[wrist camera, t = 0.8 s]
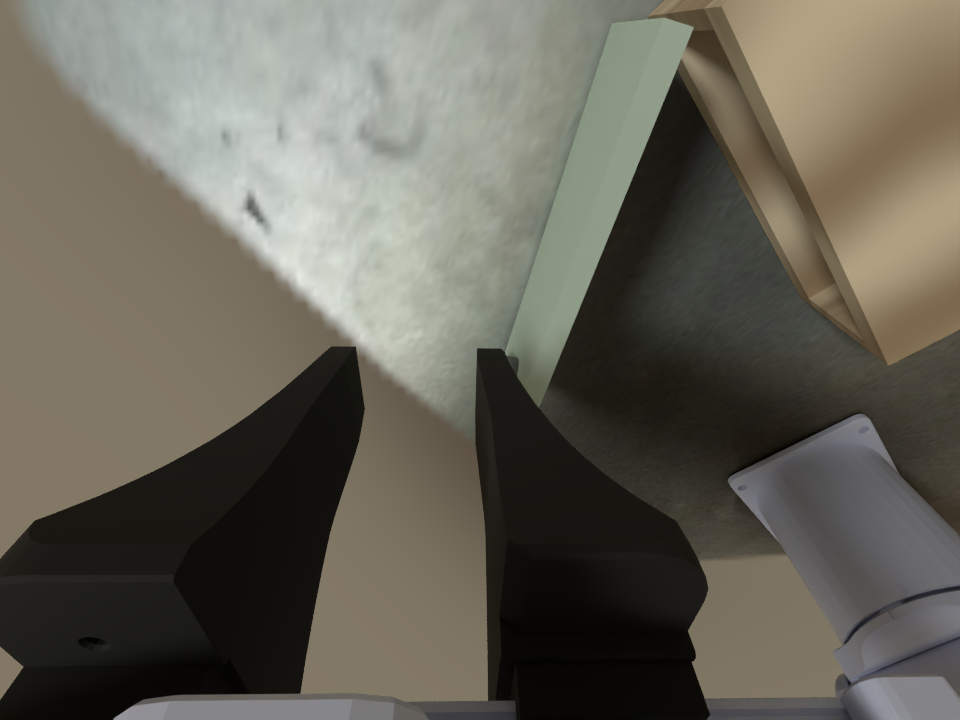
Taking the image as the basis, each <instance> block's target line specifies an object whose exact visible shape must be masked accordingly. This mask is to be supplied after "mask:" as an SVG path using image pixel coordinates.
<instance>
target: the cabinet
mask: <svg viewBox="0 0 960 720" xmlns="http://www.w3.org/2000/svg"><path fill="white" fill-rule="evenodd" d="M648 17H649V19H656V18H667V19H670V20H673V21H676V22H679V23H683V24H686V25H689V26H692V27H694V28H693V31H692V33H691V36H690V38H689V41H688V43H687V45H686V48H685V50H684V53H683V55H682V58H681V60H680V63H679V65H678V68H677V70H678V72H679V74H680V76H681V78H682V80H683V82H684V83H685V85H686V87H687V89H688V91H689V93H690V94H691V96H692V98H693V100H694V102H695V104H696V106H697V107H698V109H699V111H700V113H701V115H702V117H703V118H704V120H705V122H706V124H707V126H708V128H709V129H710V131H711V133H712V135H713V137H714V139H715V141H716V142H717V144H718V146H719V148H720V150H721V152H722V153H723V155H724V157H725V159H726V161H727V163H728V165H729V166H730V168H731V170H732V172H733V174H734V176H735V177H736V179H737V181H738V183H739V185H740V187H741V189H742V190H743V192H744V194H745V196H746V198H747V200H748V201H749V203H750V205H751V207H752V209H753V211H754V213H755V214H756V216H757V218H758V220H759V222H760V224H761V225H762V227H763V229H764V231H765V233H766V235H767V237H768V238H769V240H770V242H771V244H772V246H773V248H774V249H775V251H776V253H777V255H778V257H779V259H780V261H781V262H782V264H783V266H784V268H785V270H786V272H787V273H788V275H789V277H790V279H791V281H792V283H793V285H794V286H795V288H796V290H797V292H798V294H799V296H800V297H801V298H802V299H803V300H804V301H806V302H807V303H808V304H809V305H811V306H812V307H813V308H815V309H816V310H817V311H818V312H820V313H821V314H822V315H824V316H825V317H826V318H827V319H829V320H830V321H831V322H833V323H834V324H835V325H836V326H838V327H839V328H840V329H842V330H843V331H844V332H845V333H847V334H848V335H849V336H851V337H852V338H853V339H854V340H856V341H857V342H858V343H860V344H861V345H862V346H863V347H865V348H866V349H867V350H868V351H870V352H871V353H872V354H874V355H875V356H876V357H877V358H879V359H880V360H881V361H883V362H884V363H885V364H886V365H888V366H889V365H891V364H893V363H895V362H897V361H899V360H901V359H903V358H905V357H907V356H909V355H911V354H913V353H915V352H917V351H919V350H921V349H923V348H924V347H926V346H928V345H930V344H932V343H934V342H936V341H938V340H940V339H942V338H944V337H946V336H948V335H950V334H952V333H954V332H956V331H958V330H959V329H960V0H665V1H663V2H662V3H661V4H660V5H659V6H658V7H657V8H656V9H655V10H654V11H653V12H652V13H651V14H650V15H648Z"/></svg>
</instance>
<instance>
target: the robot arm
mask: <svg viewBox="0 0 960 720" xmlns="http://www.w3.org/2000/svg"><path fill="white" fill-rule="evenodd" d="M364 410H365V408H364V401H363V394H362V387H361V380H360V373H359V367H358V360H357V353H356V347H331V348H329V349H328V350H327V351H326V352H325V353H323V354H322V355H321V356H320V357H319V358H318V359H317V360H316V361H314V362H313V363H312V364H311V365H310V366H309V367H308V368H307V369H306V370H304V371H303V372H302V373H301V374H300V375H299V376H298V377H296V378H295V379H294V380H293V381H292V382H291V383H289V384H288V385H287V386H286V387H285V388H284V389H282V390H281V391H280V392H279V393H277V394H276V395H275V396H273V397H272V398H271V399H270V400H268V401H267V402H266V403H264V404H263V405H262V406H261V407H259V408H258V409H257V410H255V411H254V412H253V413H251V414H250V415H249V416H247V417H246V418H244V419H243V420H242V421H240V422H239V423H237V424H236V425H234V426H233V427H231V428H230V429H228V430H226V431H225V432H223V433H222V434H220V435H219V436H217V437H216V438H214V439H212V440H211V441H209V442H207V443H205V444H204V445H202V446H200V447H198V448H196V449H195V450H193V451H191V452H189V453H188V454H186V455H184V456H182V457H180V458H178V459H176V460H175V461H173V462H171V463H169V464H167V465H166V466H163V467H162V468H159V469H158V470H155V471H154V472H151V473H150V474H147V475H145V476H143V477H141V478H139V479H137V480H134V481H132V482H130V483H127V484H125V485H123V486H121V487H119V488H116V489H114V490H112V491H109V492H107V493H105V494H102V495H100V496H98V497H95V498H92V499H90V500H87V501H85V502H83V503H80V504H77V505H75V506H72V507H69V508H67V509H65V510H62V511H59V512H57V513H54V514H52V515H49V516H47V517H44V518H41V519H38V520H35V521H34V522H33V523H32V524H31V525H30V526H29V528H28V529H27V530H26V531H25V532H24V533H23V534H22V535H21V537H20V538H19V539H18V540H17V541H16V542H15V543H14V544H13V545H12V546H11V547H10V549H9V550H8V551H7V552H6V553H5V554H4V555H3V556H2V558H1V559H0V647H1V648H3V649H4V650H5V651H6V652H7V653H9V654H10V655H11V656H12V657H13V658H14V659H15V660H17V661H18V662H19V663H20V664H21V665H22V666H23V669H22V670H21V672H20V673H19V675H18V676H17V677H16V679H15V680H14V682H13V683H12V684H11V686H10V687H9V689H8V690H7V691H6V693H5V694H4V696H3V697H2V698H1V700H0V720H960V536H959V535H958V534H957V533H956V532H955V530H954V529H953V528H952V527H951V526H950V525H949V524H948V523H947V522H946V521H945V520H944V519H943V518H942V517H941V516H940V515H939V514H938V513H937V512H936V511H935V510H934V509H933V508H932V507H931V506H930V505H929V504H928V503H927V502H926V501H925V500H924V499H923V498H922V497H921V496H920V495H919V494H918V493H917V492H916V491H915V490H914V489H913V488H912V487H911V486H910V485H909V484H908V483H907V482H906V481H905V480H904V479H903V478H902V477H901V476H900V474H899V472H898V471H897V469H896V467H895V465H894V463H893V461H892V459H891V458H890V456H889V454H888V452H887V450H886V448H885V446H884V445H883V443H882V441H881V439H880V437H879V435H878V433H877V431H876V430H875V428H874V426H873V424H872V422H871V420H870V419H869V418H868V417H867V416H866V415H865V414H856V415H854V416H851V417H849V418H847V419H845V420H843V421H841V422H839V423H837V424H835V425H833V426H831V427H829V428H827V429H825V430H823V431H821V432H819V433H817V434H815V435H813V436H811V437H809V438H807V439H805V440H803V441H801V442H799V443H796V444H794V445H792V446H790V447H788V448H786V449H784V450H782V451H780V452H778V453H776V454H774V455H772V456H770V457H768V458H766V459H764V460H762V461H760V462H758V463H756V464H754V465H752V466H750V467H748V468H746V469H744V470H741V471H739V472H737V473H735V474H733V475H732V476H730V477H729V479H728V483H729V485H730V487H731V488H732V489H733V490H734V491H735V492H736V494H737V495H738V496H739V497H740V498H741V499H742V500H743V502H744V503H745V504H746V505H747V506H748V507H749V509H750V510H751V511H752V512H753V513H754V514H755V515H756V517H757V518H758V519H759V520H760V521H761V522H762V524H763V525H764V526H765V527H766V528H767V529H768V530H769V532H770V533H771V534H772V535H773V536H774V537H775V539H776V540H777V541H778V542H779V543H780V544H781V546H782V547H783V549H784V551H785V552H786V554H787V556H788V557H789V559H790V560H791V562H792V563H793V565H794V567H795V569H796V570H797V572H798V573H799V575H800V577H801V578H802V580H803V582H804V583H805V585H806V586H807V588H808V590H809V591H810V593H811V594H812V596H813V598H814V599H815V601H816V602H817V604H818V606H819V607H820V609H821V611H822V612H823V614H824V615H825V617H826V619H827V620H828V622H829V623H830V625H831V627H832V629H833V630H834V632H835V633H836V635H837V637H838V638H839V640H840V642H841V643H842V645H843V646H842V647H840V648H838V649H836V650H834V651H833V655H834V656H835V658H836V660H837V661H838V663H839V665H840V666H841V668H842V670H843V671H844V673H843V674H841V675H839V676H838V677H837V679H836V683H835V692H836V697H823V698H822V697H819V698H818V697H814V698H729V699H727V698H720V699H704V696H703V693H702V691H701V687H700V685H699V682H698V679H697V676H696V673H695V671H694V668H693V665H692V662H691V661H694V660H695V658H696V654H695V649H694V647H693V644H692V641H691V638H690V636H689V633H688V629H689V628H690V626H691V624H692V622H693V621H694V619H695V616H696V615H697V613H698V612H699V610H700V608H701V606H702V604H703V603H704V601H705V598H706V595H707V592H708V586H707V580H706V576H705V574H704V572H703V570H702V567H701V565H700V563H699V561H698V558H697V556H696V554H695V552H694V551H693V549H692V547H691V545H690V543H689V541H688V540H687V538H686V536H685V535H684V533H683V531H682V530H681V528H680V526H679V525H678V523H677V521H675V520H674V519H672V518H670V517H669V516H667V515H665V514H664V513H662V512H660V511H659V510H657V509H655V508H654V507H652V506H651V505H649V504H647V503H646V502H644V501H642V500H641V499H639V498H637V497H636V496H634V495H633V494H631V493H630V492H629V491H627V490H626V489H624V488H623V487H622V486H620V485H619V484H617V483H616V482H615V481H613V480H612V479H610V478H609V477H608V476H607V475H605V474H604V473H603V472H602V471H600V470H599V469H598V468H597V467H596V466H594V465H593V464H592V463H591V462H590V461H588V460H587V459H586V458H585V457H584V456H582V455H581V454H580V453H579V452H578V451H577V450H576V449H575V448H574V447H573V446H572V445H571V444H570V443H569V442H568V441H567V440H566V439H565V438H564V437H563V436H562V435H561V434H560V433H559V432H558V431H557V429H556V428H555V427H554V426H553V425H552V424H551V423H550V421H549V420H548V419H547V418H546V416H545V415H544V414H543V413H542V411H541V410H540V409H539V408H538V406H537V405H536V404H535V402H534V401H533V400H532V398H531V397H530V395H529V394H528V392H527V391H526V389H525V388H524V386H523V385H522V383H521V382H520V380H519V379H518V377H517V375H516V374H515V372H514V370H513V368H512V366H511V365H510V363H509V361H508V359H507V357H506V354H505V352H504V351H503V350H502V349H484V348H477V374H476V408H475V424H476V451H477V459H478V467H479V476H480V484H481V493H482V501H483V510H484V520H485V534H486V578H487V579H486V580H487V581H486V582H487V638H488V639H487V642H488V701H436V702H435V701H434V702H404V701H401V700H399V699H396V698H394V697H388V696H378V695H368V694H358V693H339V694H338V693H335V694H334V693H329V694H300V692H301V685H302V679H303V673H304V666H305V660H306V653H307V648H308V642H309V637H310V631H311V625H312V620H313V614H314V609H315V603H316V598H317V593H318V588H319V582H320V578H321V572H322V567H323V563H324V558H325V554H326V549H327V544H328V540H329V535H330V531H331V527H332V524H333V520H334V517H335V514H336V510H337V507H338V504H339V501H340V498H341V495H342V492H343V489H344V486H345V483H346V480H347V477H348V474H349V471H350V468H351V465H352V462H353V459H354V455H355V452H356V449H357V446H358V443H359V438H360V433H361V427H362V422H363V416H364Z"/></svg>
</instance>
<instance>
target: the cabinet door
mask: <svg viewBox="0 0 960 720" xmlns="http://www.w3.org/2000/svg"><path fill="white" fill-rule="evenodd" d="M693 28H694V27H692V26H689V25H686V24H683V23H679V22H676V21H673V20H670V19H667V18H656V19H647V20H638V21H629V22H620V23H612V25H611V28H610V32H609V35H608V38H607V41H606V44H605V47H604V50H603V53H602V56H601V59H600V62H599V65H598V68H597V71H596V75H595V78H594V81H593V84H592V87H591V90H590V93H589V96H588V99H587V102H586V105H585V108H584V111H583V115H582V118H581V121H580V124H579V127H578V130H577V133H576V136H575V139H574V142H573V145H572V148H571V151H570V154H569V158H568V161H567V164H566V167H565V170H564V173H563V176H562V179H561V182H560V185H559V188H558V191H557V194H556V197H555V201H554V204H553V207H552V210H551V213H550V216H549V219H548V222H547V225H546V228H545V231H544V234H543V237H542V240H541V244H540V247H539V250H538V253H537V256H536V259H535V262H534V265H533V268H532V271H531V274H530V277H529V280H528V283H527V287H526V290H525V293H524V296H523V299H522V302H521V305H520V308H519V311H518V314H517V317H516V320H515V323H514V326H513V330H512V333H511V336H510V339H509V342H508V345H507V348H506V351H505V354H506V357H507V359H508V361H509V363H510V365H511V366H512V368H513V370H514V372H515V374H516V375H517V377H518V379H519V380H520V382H521V383H522V385H523V386H524V388H525V389H526V391H527V392H528V394H529V395H530V397H531V398H532V400H533V401H534V402H535V404H536V405H537V406H538V408H539V407H540V404H541V402H542V399H543V397H544V395H545V392H546V390H547V387H548V385H549V382H550V380H551V377H552V375H553V372H554V370H555V368H556V365H557V363H558V360H559V358H560V355H561V353H562V350H563V348H564V345H565V343H566V340H567V338H568V336H569V333H570V331H571V328H572V326H573V323H574V321H575V318H576V316H577V313H578V311H579V309H580V306H581V304H582V301H583V299H584V296H585V294H586V291H587V289H588V286H589V284H590V281H591V279H592V277H593V274H594V272H595V269H596V267H597V264H598V262H599V259H600V257H601V254H602V252H603V250H604V247H605V245H606V242H607V240H608V237H609V235H610V232H611V230H612V227H613V225H614V222H615V220H616V218H617V215H618V213H619V210H620V208H621V205H622V203H623V200H624V198H625V195H626V193H627V191H628V188H629V186H630V183H631V181H632V178H633V176H634V173H635V171H636V168H637V166H638V163H639V161H640V159H641V156H642V154H643V151H644V149H645V146H646V144H647V141H648V139H649V136H650V134H651V132H652V129H653V127H654V124H655V122H656V119H657V117H658V114H659V112H660V109H661V107H662V104H663V102H664V100H665V97H666V95H667V92H668V90H669V87H670V85H671V82H672V80H673V77H674V75H675V73H676V70H677V68H678V65H679V63H680V60H681V58H682V55H683V53H684V50H685V48H686V45H687V43H688V41H689V38H690V36H691V33H692V31H693Z"/></svg>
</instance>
